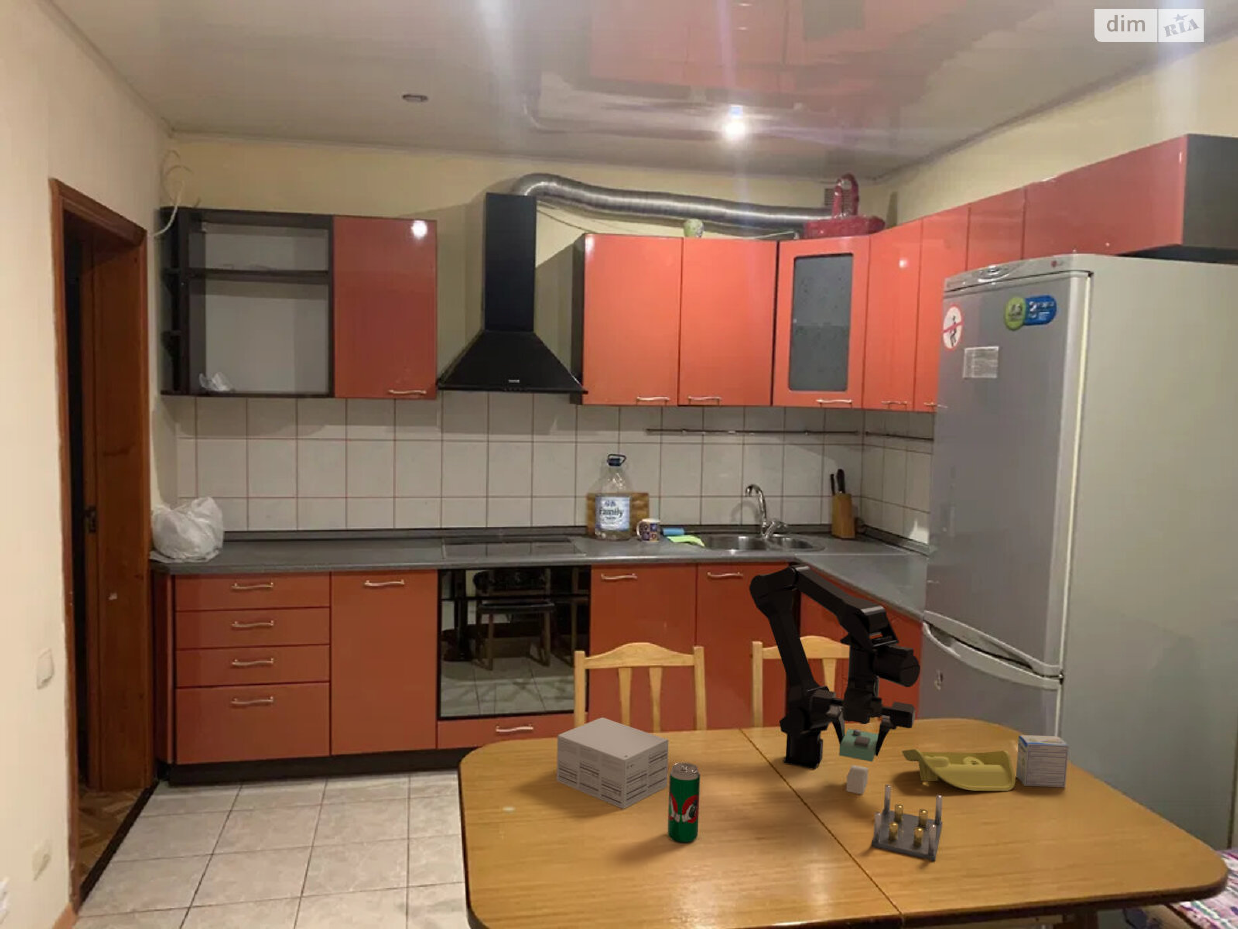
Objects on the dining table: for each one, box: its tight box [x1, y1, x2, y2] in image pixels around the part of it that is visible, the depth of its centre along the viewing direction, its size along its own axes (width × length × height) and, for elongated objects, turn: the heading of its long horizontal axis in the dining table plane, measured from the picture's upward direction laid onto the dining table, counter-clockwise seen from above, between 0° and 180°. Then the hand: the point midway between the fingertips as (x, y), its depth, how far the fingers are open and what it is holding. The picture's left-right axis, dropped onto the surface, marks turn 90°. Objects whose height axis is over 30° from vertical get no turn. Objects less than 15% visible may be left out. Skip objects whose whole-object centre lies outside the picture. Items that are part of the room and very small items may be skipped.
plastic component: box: [901, 748, 1016, 792], centre depth 176 cm, size 20×7×10 cm
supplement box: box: [556, 716, 669, 810], centre depth 170 cm, size 17×13×9 cm
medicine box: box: [1015, 734, 1070, 788], centre depth 176 cm, size 8×4×9 cm, turn 88°
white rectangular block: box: [845, 764, 869, 795], centre depth 172 cm, size 3×5×3 cm, turn 156°
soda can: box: [667, 762, 701, 844], centre depth 151 cm, size 5×5×12 cm
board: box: [838, 728, 879, 763], centre depth 171 cm, size 6×9×3 cm, turn 156°
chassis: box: [871, 784, 943, 862], centre depth 154 cm, size 10×13×6 cm
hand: (859, 752), depth 171 cm, fingers closed on board, 6 cm apart
